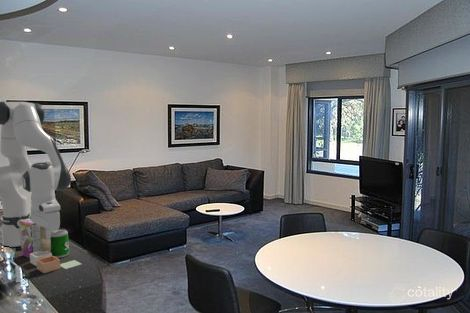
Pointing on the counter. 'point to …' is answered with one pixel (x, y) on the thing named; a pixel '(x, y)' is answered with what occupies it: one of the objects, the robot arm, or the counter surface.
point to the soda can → (59, 243)
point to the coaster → (70, 264)
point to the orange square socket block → (48, 264)
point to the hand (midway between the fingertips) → (45, 236)
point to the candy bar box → (29, 237)
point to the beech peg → (44, 240)
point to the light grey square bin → (39, 256)
